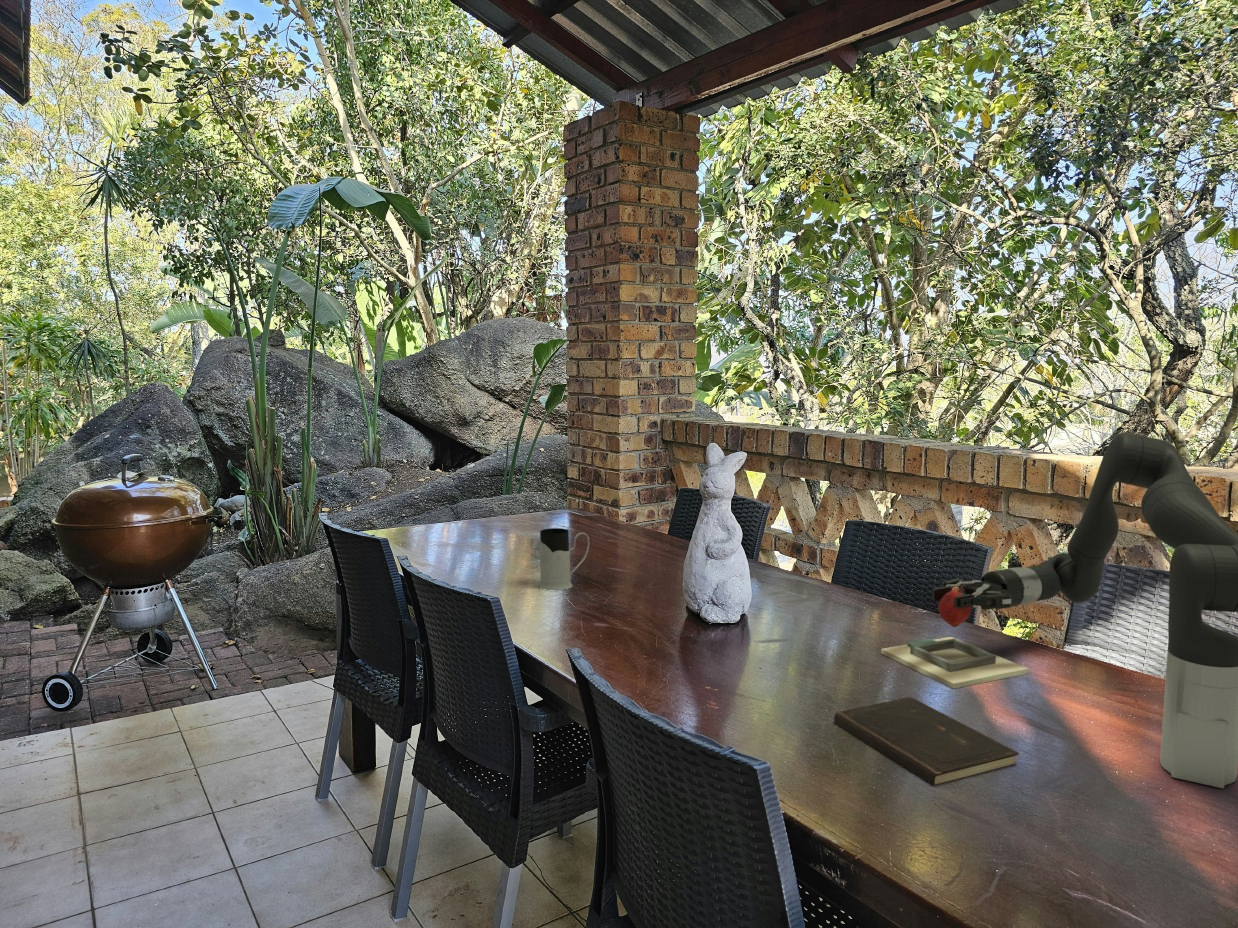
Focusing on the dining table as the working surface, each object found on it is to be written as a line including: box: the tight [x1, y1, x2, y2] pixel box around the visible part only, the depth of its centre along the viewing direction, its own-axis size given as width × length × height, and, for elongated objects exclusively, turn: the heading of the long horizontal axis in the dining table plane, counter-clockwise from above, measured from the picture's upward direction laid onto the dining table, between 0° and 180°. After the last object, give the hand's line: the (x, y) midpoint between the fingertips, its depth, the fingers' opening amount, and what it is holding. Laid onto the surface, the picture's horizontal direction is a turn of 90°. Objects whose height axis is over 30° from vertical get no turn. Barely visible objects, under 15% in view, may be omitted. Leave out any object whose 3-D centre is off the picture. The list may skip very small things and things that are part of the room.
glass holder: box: [539, 527, 590, 591], centre depth 227 cm, size 9×14×15 cm, turn 115°
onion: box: [937, 587, 972, 628], centre depth 166 cm, size 6×6×8 cm
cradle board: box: [880, 636, 1029, 689], centre depth 168 cm, size 20×18×2 cm
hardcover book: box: [833, 696, 1020, 787], centre depth 134 cm, size 16×23×2 cm
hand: (944, 598), depth 165 cm, fingers closed on onion, 5 cm apart
